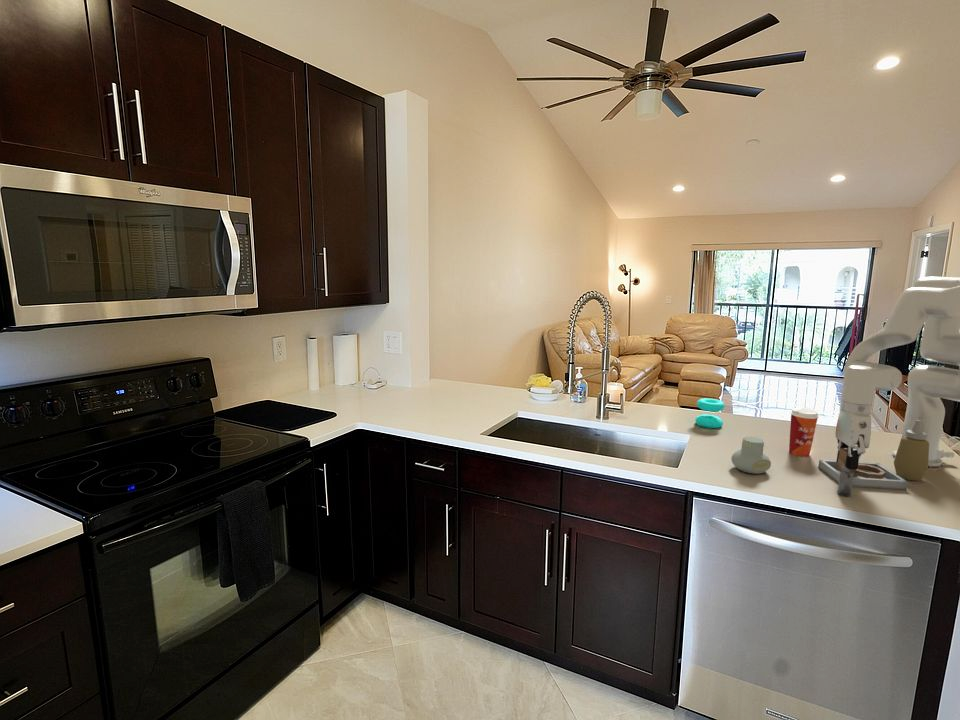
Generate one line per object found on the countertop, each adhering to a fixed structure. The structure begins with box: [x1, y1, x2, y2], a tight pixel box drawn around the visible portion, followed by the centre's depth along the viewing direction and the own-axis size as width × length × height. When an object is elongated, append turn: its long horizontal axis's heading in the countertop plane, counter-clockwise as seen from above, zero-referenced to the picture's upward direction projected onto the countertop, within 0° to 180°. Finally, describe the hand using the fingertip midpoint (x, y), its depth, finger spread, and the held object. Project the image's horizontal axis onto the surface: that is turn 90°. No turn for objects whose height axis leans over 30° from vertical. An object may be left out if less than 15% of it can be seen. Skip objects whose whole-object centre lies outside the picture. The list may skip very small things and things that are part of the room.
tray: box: [818, 459, 909, 491], centre depth 156 cm, size 17×14×2 cm
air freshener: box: [731, 436, 772, 475], centre depth 161 cm, size 11×8×10 cm
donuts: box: [695, 397, 726, 429], centre depth 204 cm, size 10×10×10 cm
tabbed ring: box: [837, 448, 886, 479], centre depth 156 cm, size 12×8×7 cm
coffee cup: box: [788, 407, 820, 457], centre depth 175 cm, size 8×8×15 cm
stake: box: [836, 466, 854, 498], centre depth 145 cm, size 3×4×7 cm
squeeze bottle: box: [893, 420, 929, 482], centre depth 156 cm, size 8×8×18 cm
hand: (846, 465), depth 156 cm, fingers closed on tabbed ring, 4 cm apart
